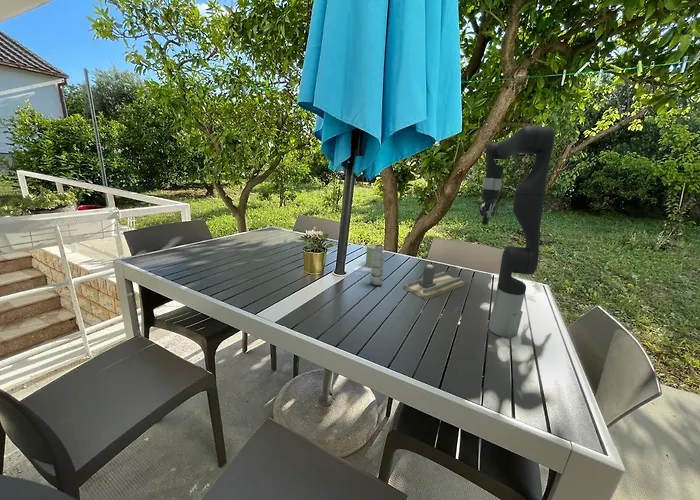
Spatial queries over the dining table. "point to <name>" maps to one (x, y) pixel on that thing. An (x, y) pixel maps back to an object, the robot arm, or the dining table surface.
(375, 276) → the plastic bottle
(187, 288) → the dining table surface
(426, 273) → the fader tab
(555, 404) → the dining table surface
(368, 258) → the can
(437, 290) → the wooden tray
